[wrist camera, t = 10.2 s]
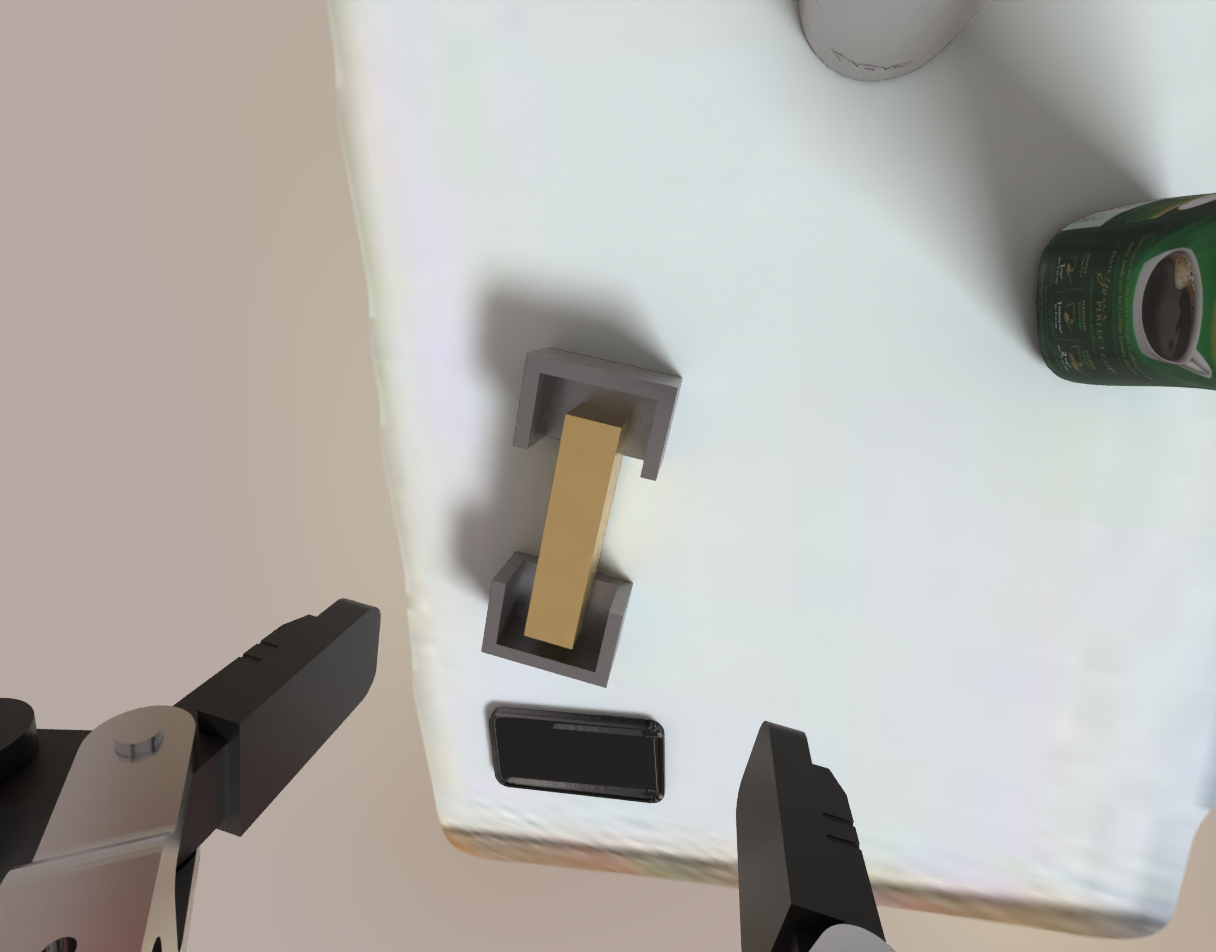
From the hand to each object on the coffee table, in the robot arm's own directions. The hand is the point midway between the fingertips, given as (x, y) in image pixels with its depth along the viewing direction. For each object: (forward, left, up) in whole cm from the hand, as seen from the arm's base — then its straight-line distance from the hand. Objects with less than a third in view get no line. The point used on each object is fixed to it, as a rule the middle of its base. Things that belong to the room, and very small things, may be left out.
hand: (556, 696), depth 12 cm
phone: (+30, -1, -31) cm, 43 cm away
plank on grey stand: (+8, -5, -30) cm, 31 cm away
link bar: (+8, -4, -29) cm, 30 cm away
